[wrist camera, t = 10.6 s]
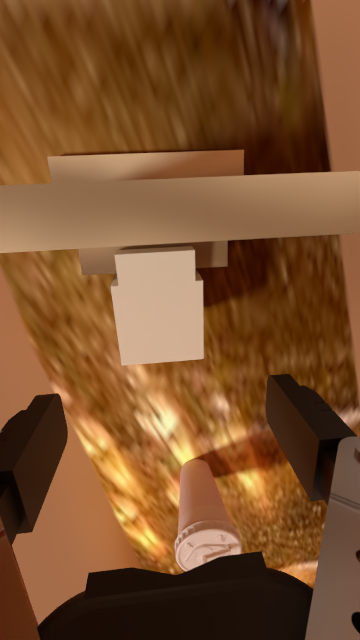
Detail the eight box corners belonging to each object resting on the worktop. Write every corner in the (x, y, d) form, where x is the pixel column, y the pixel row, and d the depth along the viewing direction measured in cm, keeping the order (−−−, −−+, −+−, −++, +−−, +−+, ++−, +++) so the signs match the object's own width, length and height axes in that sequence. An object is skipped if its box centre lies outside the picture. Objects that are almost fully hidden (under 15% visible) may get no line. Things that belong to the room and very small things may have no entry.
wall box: (118, 238, 24) (106, 255, 18) (189, 234, 25) (202, 249, 18) (129, 332, 28) (123, 374, 22) (191, 328, 28) (203, 368, 22)
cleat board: (52, 159, 24) (-181, 19, 7) (240, 152, 25) (413, 16, 8) (69, 262, 27) (-72, 330, 10) (238, 252, 28) (366, 299, 11)
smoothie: (162, 460, 36) (167, 602, 22) (211, 443, 35) (246, 575, 22) (179, 496, 38) (194, 645, 24) (226, 480, 37) (266, 621, 24)
